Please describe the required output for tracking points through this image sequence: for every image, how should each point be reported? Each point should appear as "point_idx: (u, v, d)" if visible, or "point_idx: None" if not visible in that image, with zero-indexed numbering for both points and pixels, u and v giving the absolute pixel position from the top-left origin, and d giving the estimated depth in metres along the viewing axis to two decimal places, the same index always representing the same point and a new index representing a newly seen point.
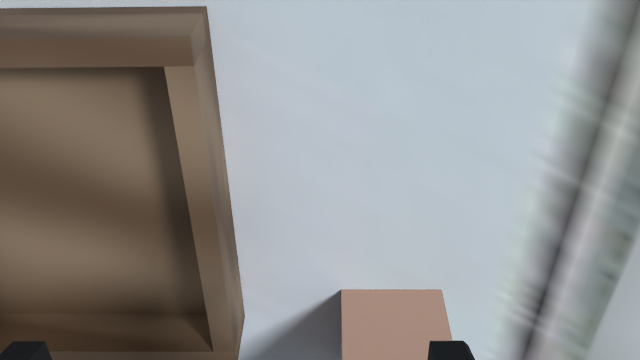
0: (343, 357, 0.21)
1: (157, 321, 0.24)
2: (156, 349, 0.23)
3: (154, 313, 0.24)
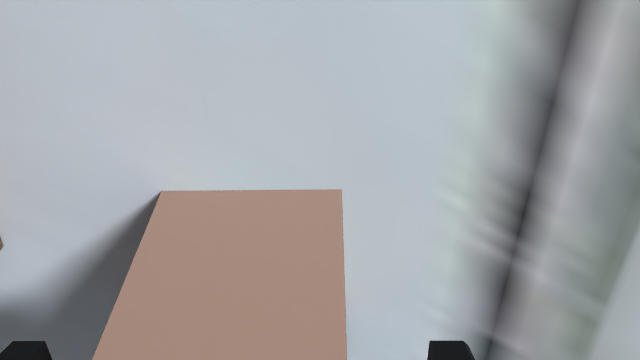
0: (118, 300, 0.10)
1: None
2: None
3: None
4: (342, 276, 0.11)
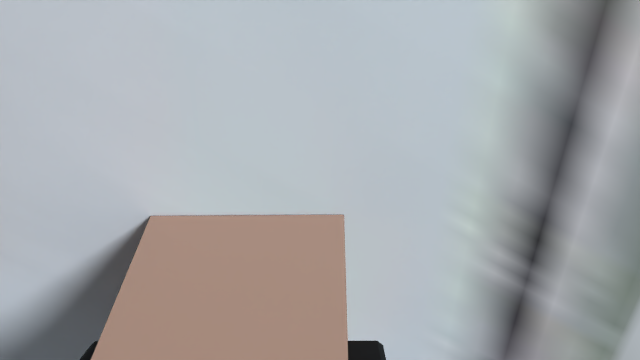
0: (99, 342, 0.10)
1: None
2: None
3: None
4: (344, 315, 0.10)
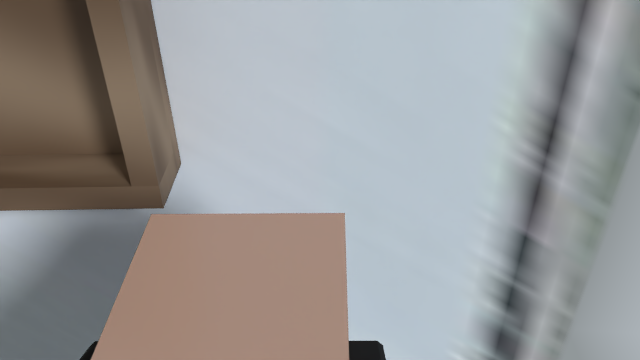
0: (100, 340, 0.10)
1: (66, 160, 0.19)
2: (59, 186, 0.18)
3: (65, 153, 0.19)
4: (345, 313, 0.10)
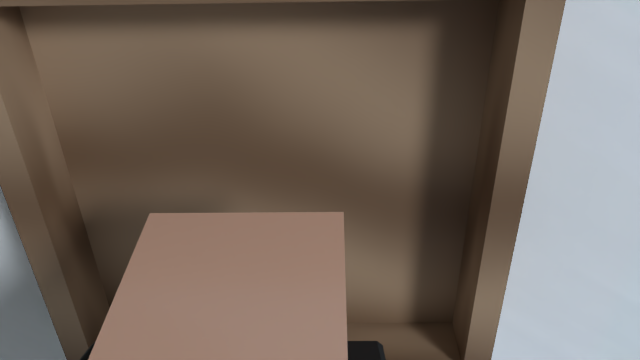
0: (98, 339, 0.10)
1: (379, 332, 0.20)
2: None
3: (372, 322, 0.20)
4: (344, 312, 0.10)
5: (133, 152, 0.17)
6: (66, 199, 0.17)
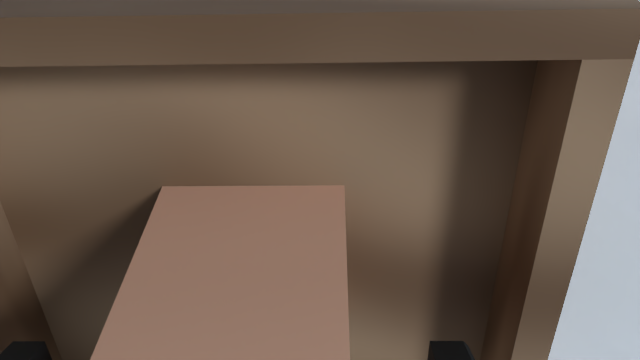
0: (118, 295, 0.10)
1: None
2: None
3: None
4: (345, 272, 0.11)
5: (93, 224, 0.14)
6: (14, 279, 0.14)
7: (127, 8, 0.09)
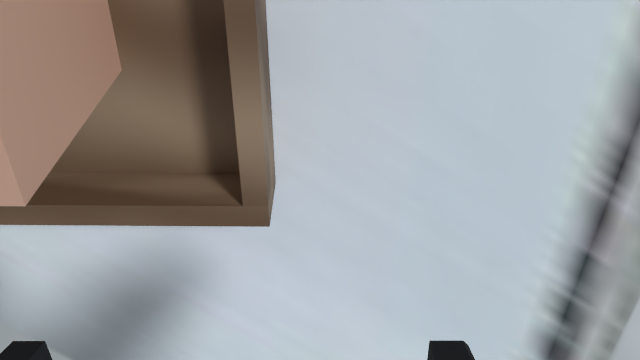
0: None
1: (175, 179, 0.20)
2: (175, 204, 0.19)
3: (172, 172, 0.20)
4: None
5: None
6: None
7: None
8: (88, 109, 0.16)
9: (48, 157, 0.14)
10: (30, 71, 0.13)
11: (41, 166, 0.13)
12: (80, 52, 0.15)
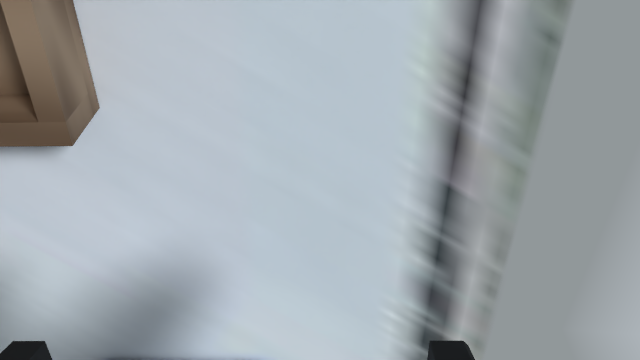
0: None
1: None
2: None
3: None
4: None
5: None
6: None
7: None
8: None
9: None
10: None
11: None
12: None
